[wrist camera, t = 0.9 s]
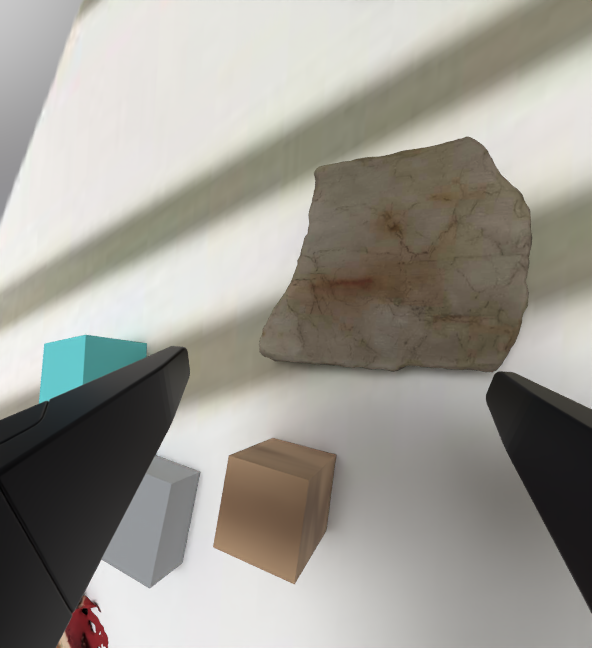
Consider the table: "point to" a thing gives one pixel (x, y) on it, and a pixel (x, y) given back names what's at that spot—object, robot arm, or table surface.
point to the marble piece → (408, 265)
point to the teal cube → (84, 361)
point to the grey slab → (155, 523)
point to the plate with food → (83, 629)
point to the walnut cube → (275, 506)
